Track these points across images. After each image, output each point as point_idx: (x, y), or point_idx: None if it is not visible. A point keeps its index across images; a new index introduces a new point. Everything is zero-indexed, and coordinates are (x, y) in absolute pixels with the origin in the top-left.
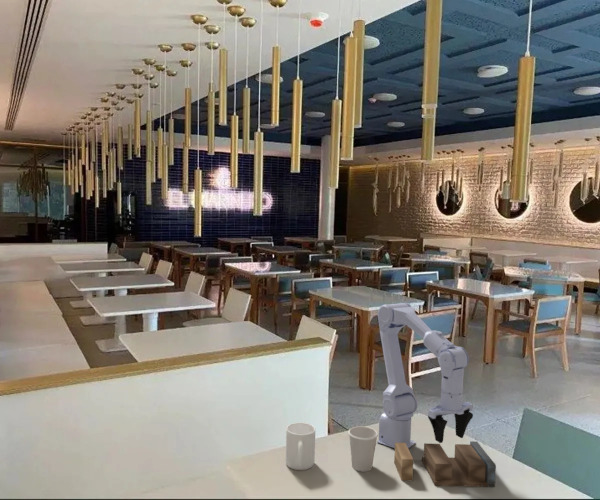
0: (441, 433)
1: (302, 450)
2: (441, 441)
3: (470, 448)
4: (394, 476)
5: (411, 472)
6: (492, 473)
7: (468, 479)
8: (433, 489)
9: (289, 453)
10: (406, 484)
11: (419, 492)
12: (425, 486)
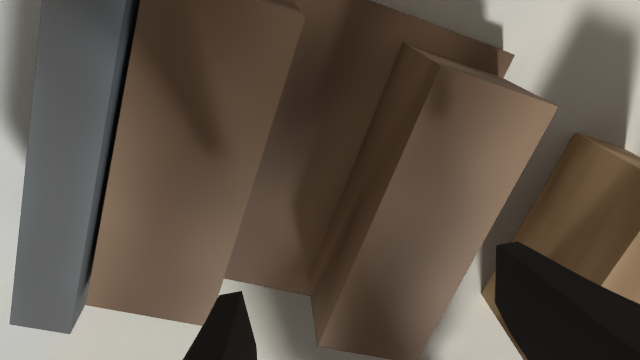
0: (606, 293)
1: None
2: (520, 247)
3: (122, 254)
4: None
5: (612, 151)
6: None
7: (295, 4)
8: (540, 13)
9: None
10: (632, 105)
11: (637, 7)
12: (557, 57)
